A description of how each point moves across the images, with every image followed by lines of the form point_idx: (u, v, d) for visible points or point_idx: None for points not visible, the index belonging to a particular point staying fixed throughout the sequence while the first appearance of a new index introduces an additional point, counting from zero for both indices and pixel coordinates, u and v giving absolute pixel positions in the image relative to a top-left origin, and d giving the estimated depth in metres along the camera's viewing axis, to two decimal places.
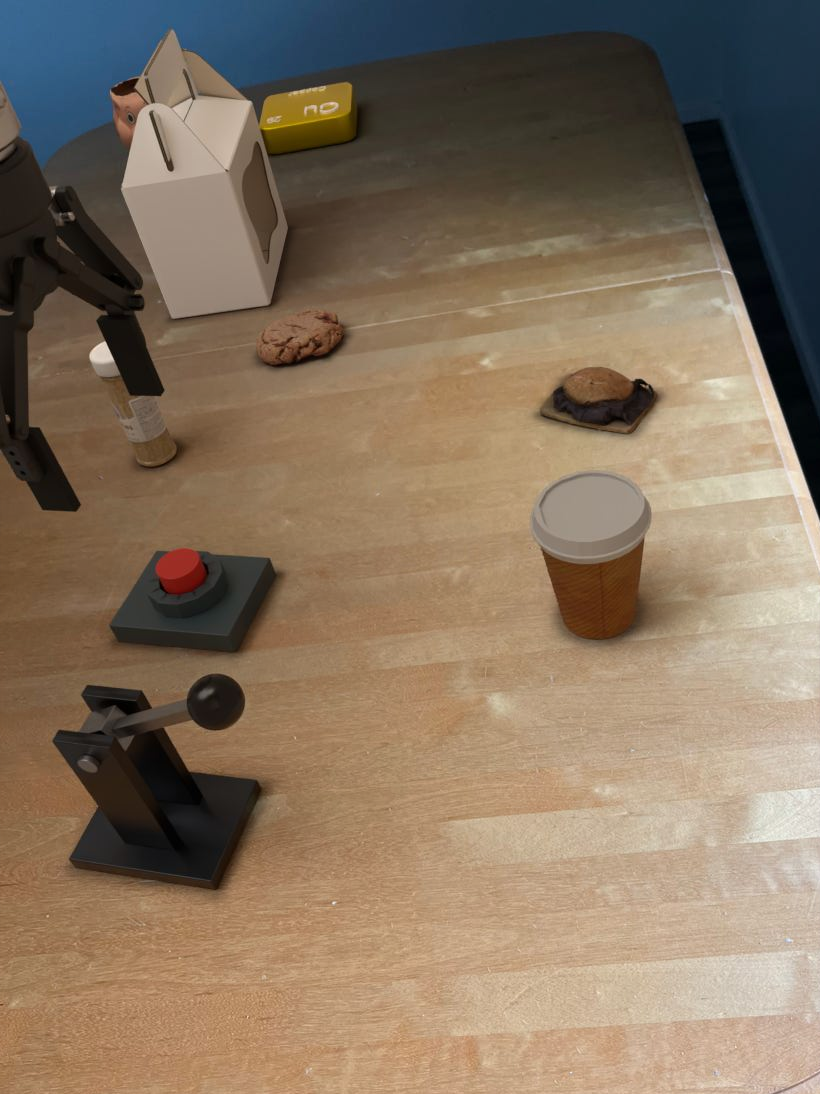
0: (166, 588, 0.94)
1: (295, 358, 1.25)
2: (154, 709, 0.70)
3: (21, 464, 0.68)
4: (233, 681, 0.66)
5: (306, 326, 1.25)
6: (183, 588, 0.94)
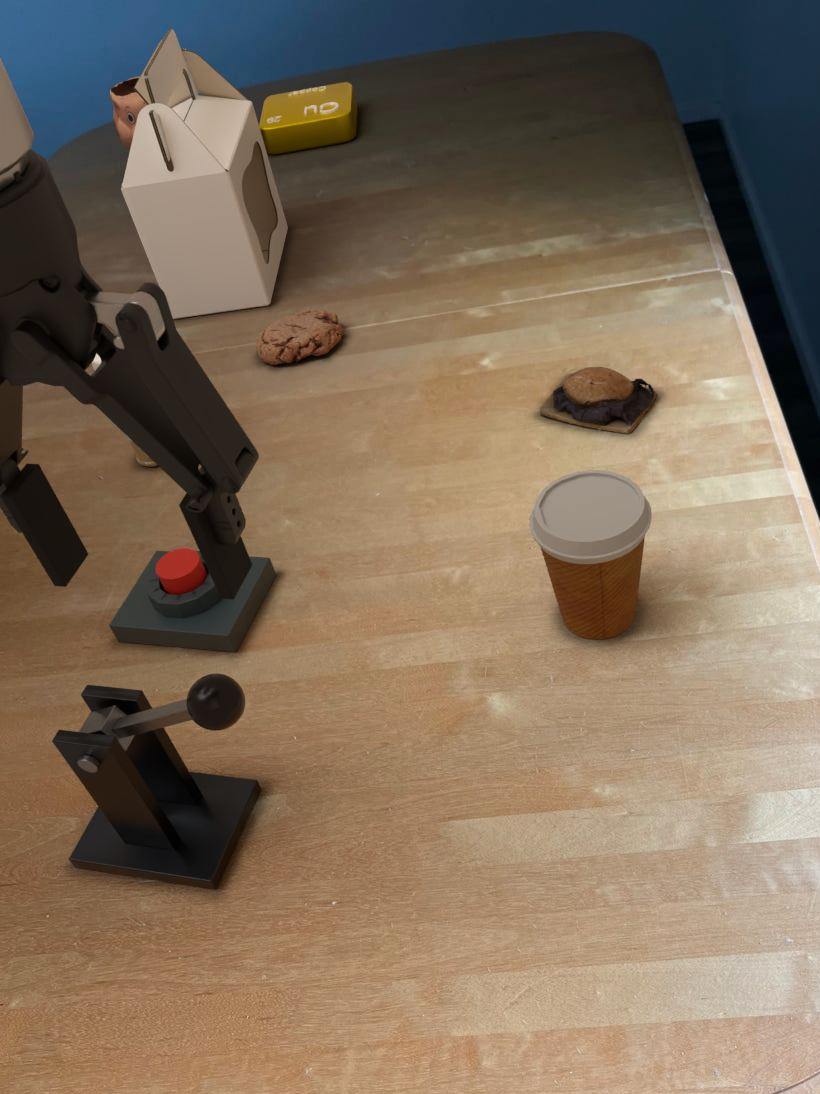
0: (166, 588, 0.94)
1: (295, 358, 1.25)
2: (154, 709, 0.70)
3: (236, 509, 0.54)
4: (233, 681, 0.66)
5: (306, 326, 1.25)
6: (183, 588, 0.94)
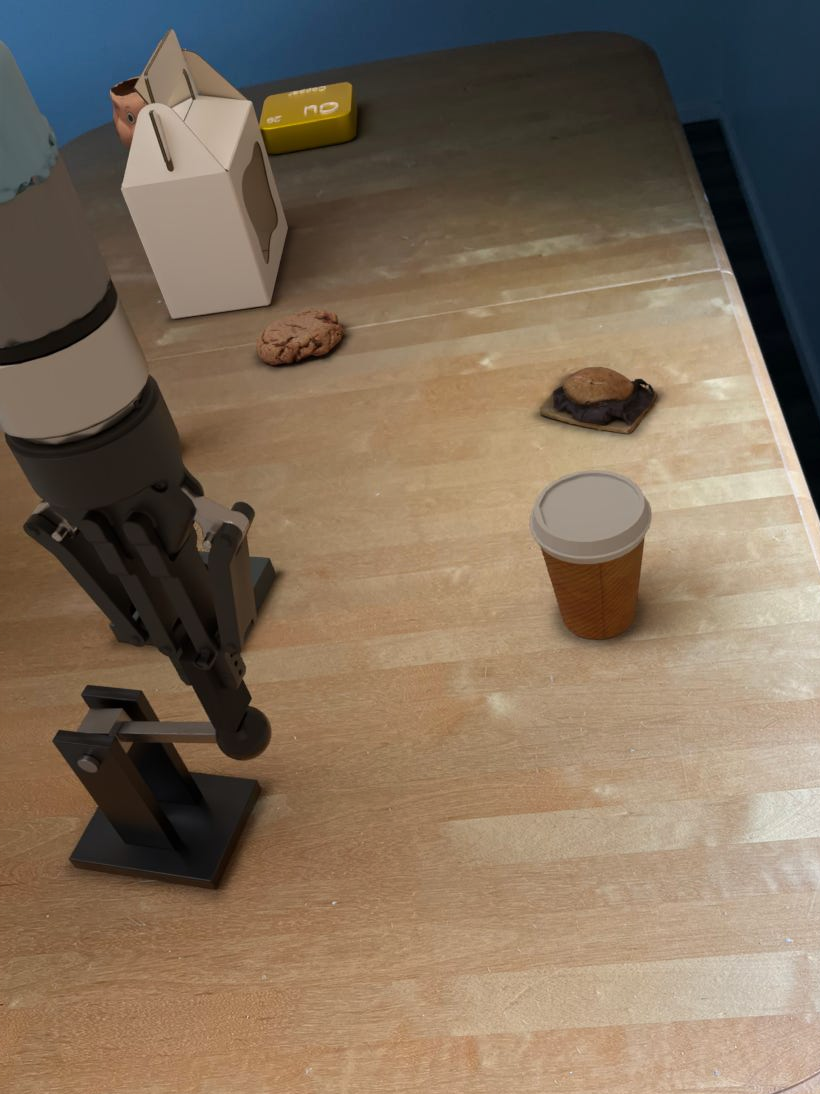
0: None
1: (295, 358, 1.25)
2: (169, 722, 0.71)
3: (238, 661, 0.63)
4: (265, 716, 0.68)
5: (306, 326, 1.25)
6: None
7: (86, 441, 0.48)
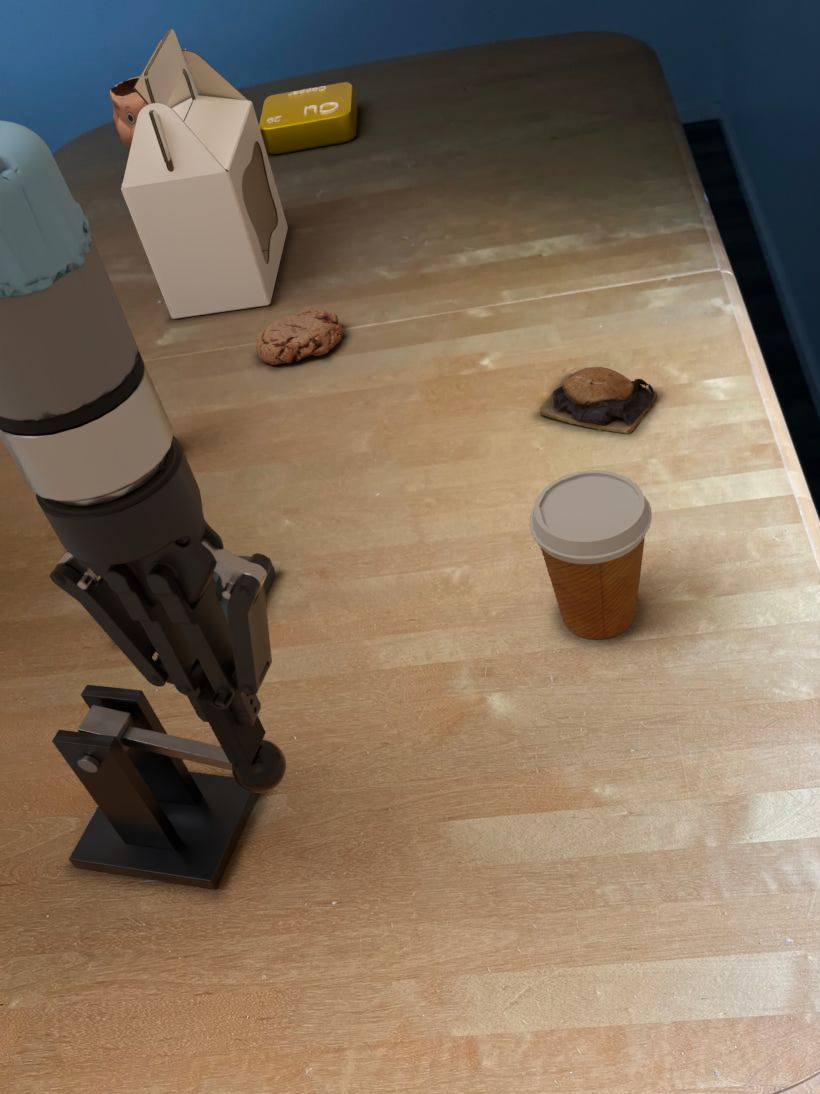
0: None
1: (295, 358, 1.25)
2: (179, 738, 0.72)
3: (253, 699, 0.66)
4: (283, 754, 0.71)
5: (306, 326, 1.25)
6: None
7: (114, 502, 0.51)
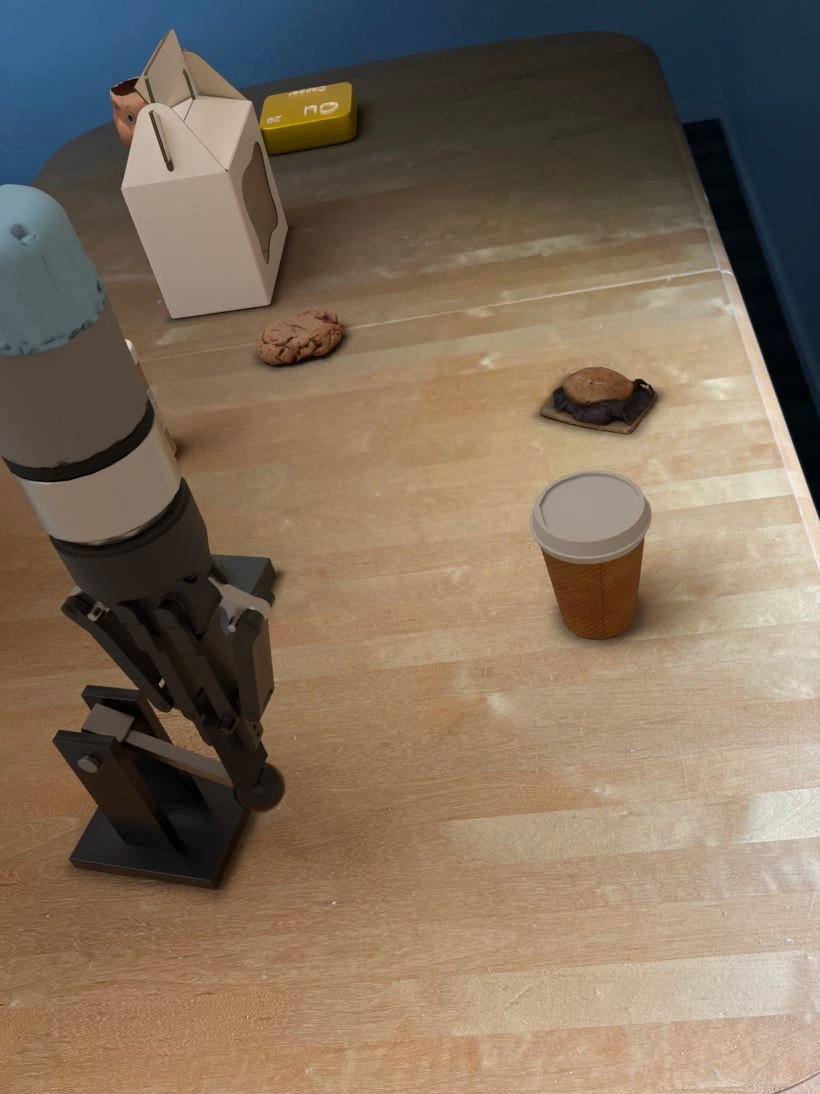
0: None
1: (295, 358, 1.25)
2: (182, 749, 0.73)
3: (256, 724, 0.68)
4: (284, 779, 0.74)
5: (306, 326, 1.25)
6: None
7: (125, 543, 0.53)
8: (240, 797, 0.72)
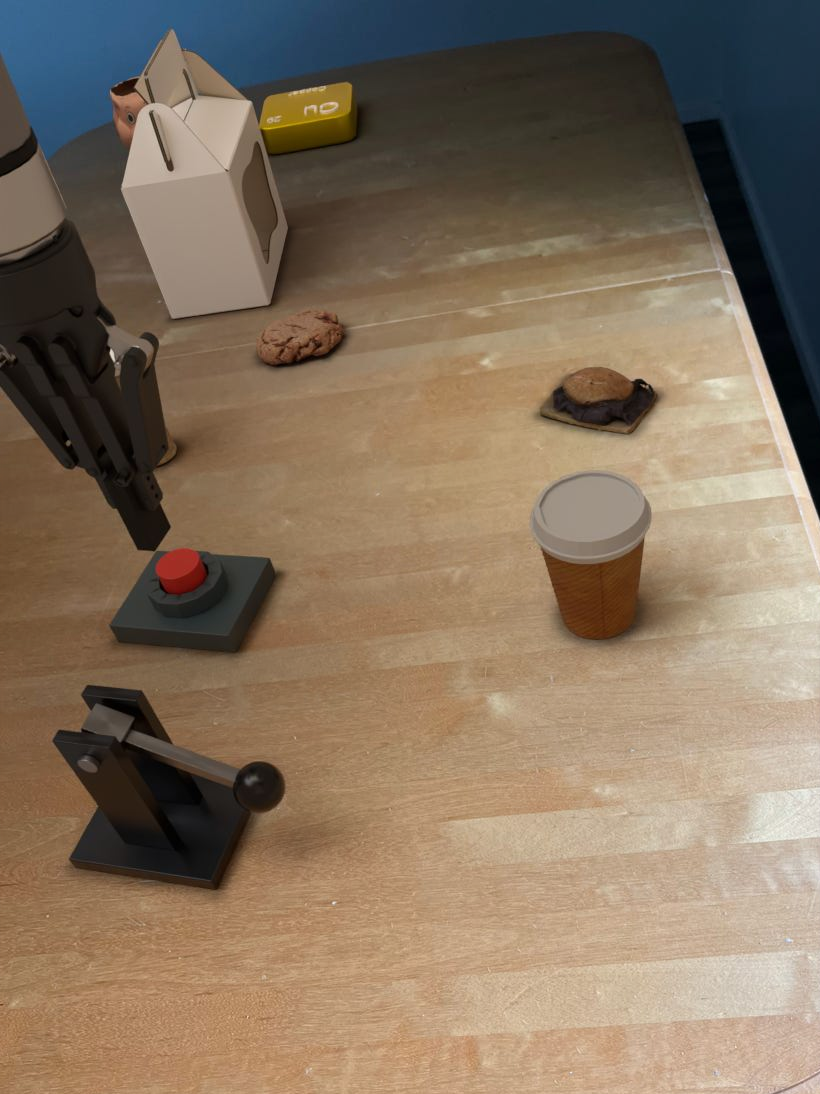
0: (166, 588, 0.94)
1: (295, 358, 1.25)
2: (182, 749, 0.73)
3: (154, 485, 0.75)
4: (284, 779, 0.74)
5: (306, 326, 1.25)
6: (183, 588, 0.94)
7: (12, 264, 0.60)
8: (240, 797, 0.72)
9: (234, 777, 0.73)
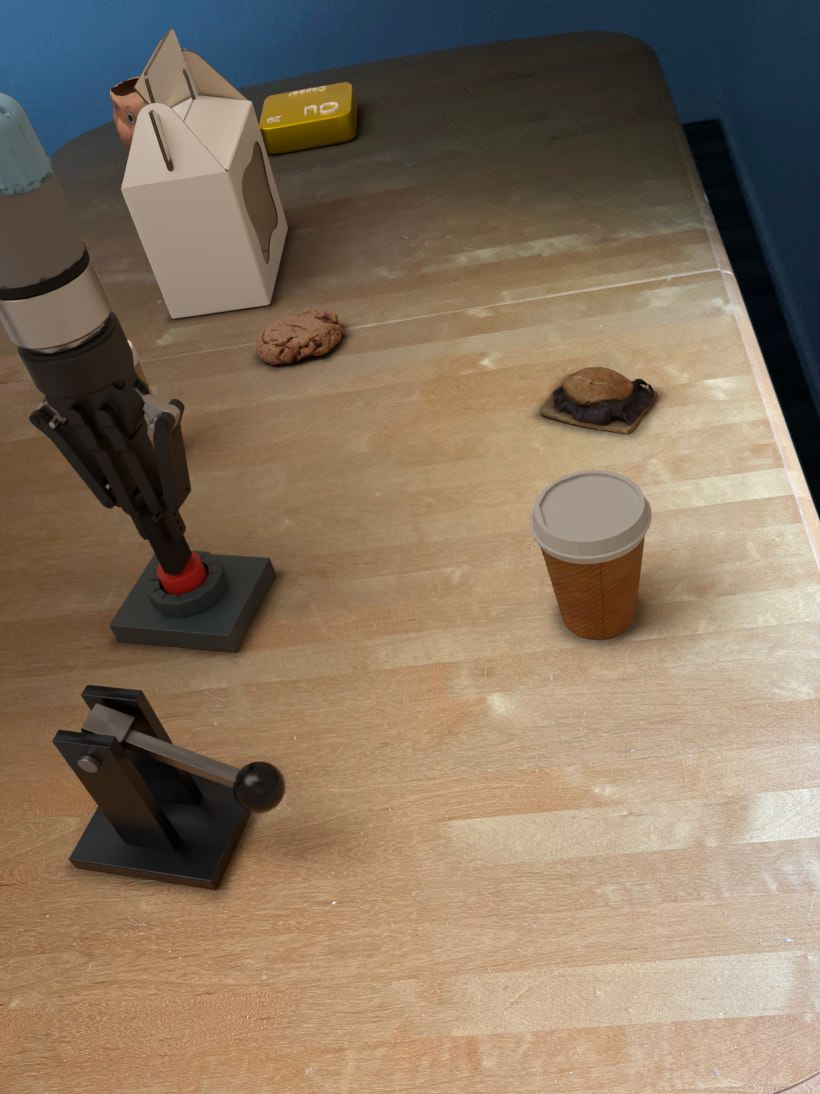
0: (167, 590, 0.94)
1: (295, 358, 1.25)
2: (182, 749, 0.73)
3: (179, 520, 0.90)
4: (284, 779, 0.74)
5: (306, 326, 1.25)
6: (184, 591, 0.94)
7: (70, 351, 0.75)
8: (240, 797, 0.72)
9: (234, 777, 0.73)
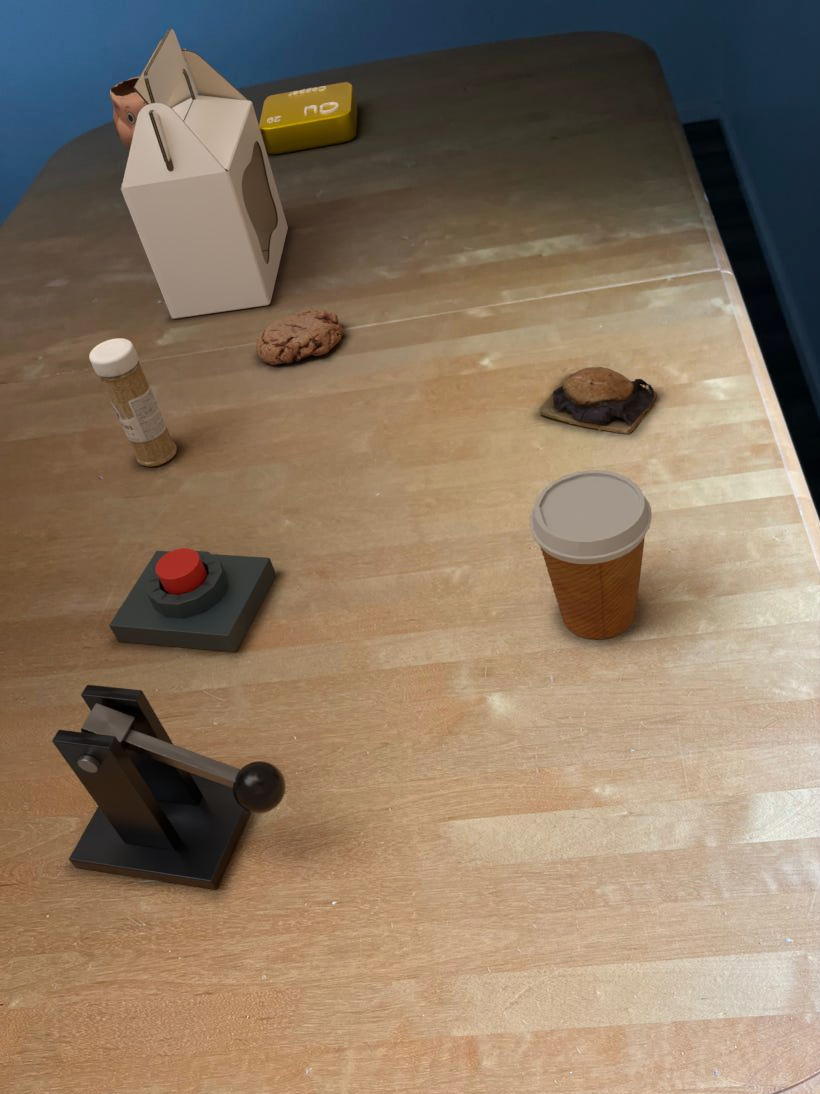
0: (166, 588, 0.94)
1: (295, 358, 1.25)
2: (182, 749, 0.73)
3: None
4: (284, 779, 0.74)
5: (306, 326, 1.25)
6: (183, 588, 0.94)
7: None
8: (240, 797, 0.72)
9: (234, 777, 0.73)
